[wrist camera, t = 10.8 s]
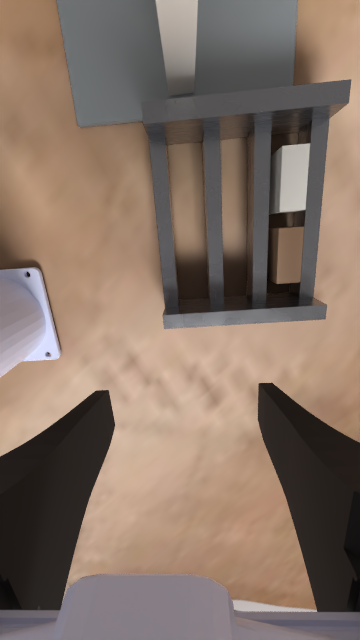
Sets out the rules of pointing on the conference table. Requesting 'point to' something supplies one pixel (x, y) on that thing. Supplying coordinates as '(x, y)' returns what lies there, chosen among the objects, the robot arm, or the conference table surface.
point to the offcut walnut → (285, 254)
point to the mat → (147, 55)
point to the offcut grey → (289, 179)
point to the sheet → (178, 43)
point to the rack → (258, 125)
